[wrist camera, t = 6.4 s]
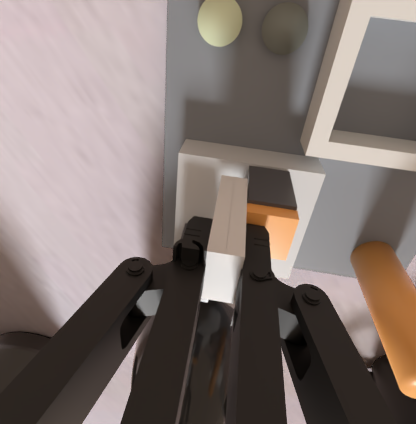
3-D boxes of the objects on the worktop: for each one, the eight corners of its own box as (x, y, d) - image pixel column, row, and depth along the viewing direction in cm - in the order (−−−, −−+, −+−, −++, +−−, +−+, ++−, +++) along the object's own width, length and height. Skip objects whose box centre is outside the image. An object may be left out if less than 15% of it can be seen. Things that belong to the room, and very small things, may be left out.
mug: (320, 349, 34) (340, 452, 26) (444, 341, 31) (510, 455, 23) (328, 388, 38) (347, 487, 30) (438, 385, 35) (493, 494, 27)
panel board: (166, 236, 28) (154, 266, 24) (175, -52, 16) (155, -68, 13) (389, 272, 27) (408, 309, 23) (559, -8, 16) (642, -13, 12)
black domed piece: (201, 342, 36) (172, 520, 23) (134, 292, 33) (58, 470, 20) (271, 310, 31) (283, 510, 19) (202, 248, 28) (159, 443, 15)
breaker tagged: (240, 206, 20) (237, 255, 16) (248, 165, 18) (247, 208, 14) (278, 212, 20) (284, 263, 16) (290, 171, 18) (300, 216, 14)
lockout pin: (344, 268, 25) (388, 394, 17) (358, 237, 23) (416, 362, 15) (383, 274, 25) (447, 404, 17) (401, 244, 23) (483, 374, 15)
